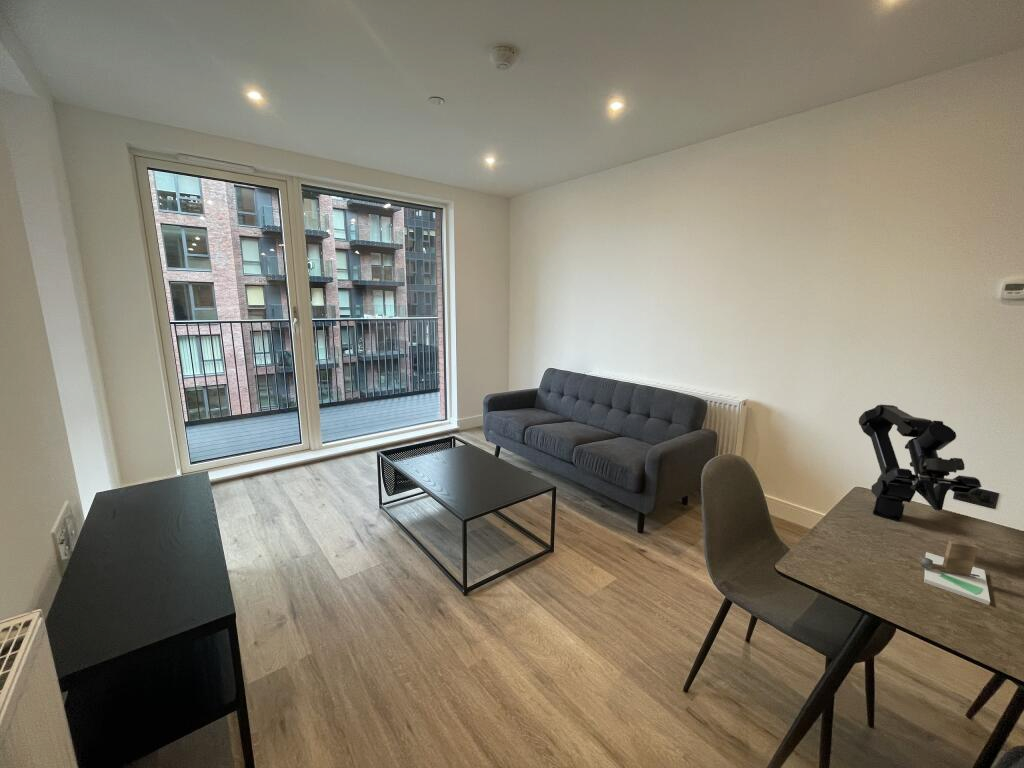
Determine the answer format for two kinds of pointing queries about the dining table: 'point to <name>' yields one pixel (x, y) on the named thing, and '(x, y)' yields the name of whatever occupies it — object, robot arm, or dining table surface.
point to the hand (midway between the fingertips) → (938, 510)
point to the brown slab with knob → (955, 559)
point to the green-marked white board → (958, 581)
